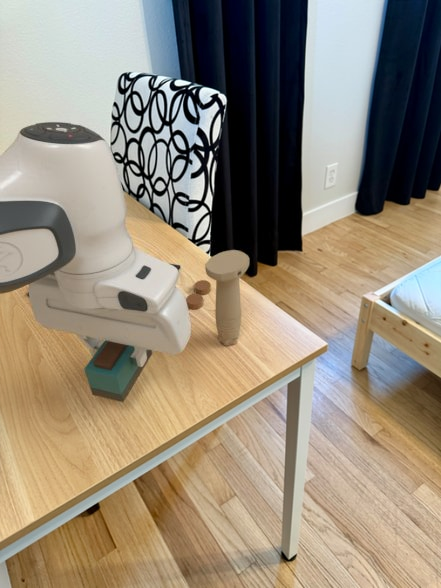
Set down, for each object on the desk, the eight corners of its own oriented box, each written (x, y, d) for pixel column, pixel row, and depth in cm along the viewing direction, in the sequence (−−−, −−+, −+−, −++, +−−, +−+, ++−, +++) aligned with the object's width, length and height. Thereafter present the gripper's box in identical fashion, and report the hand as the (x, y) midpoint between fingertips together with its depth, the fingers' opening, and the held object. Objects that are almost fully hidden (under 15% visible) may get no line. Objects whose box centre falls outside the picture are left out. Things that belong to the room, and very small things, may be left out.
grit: (192, 294, 78) (192, 288, 78) (197, 284, 81) (196, 279, 80) (208, 296, 78) (208, 290, 77) (212, 286, 80) (212, 281, 79)
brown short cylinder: (183, 307, 75) (183, 302, 75) (190, 297, 78) (189, 292, 77) (199, 310, 74) (199, 305, 74) (205, 300, 77) (205, 295, 76)
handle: (253, 337, 69) (256, 259, 60) (224, 357, 66) (222, 278, 56) (233, 323, 72) (232, 246, 62) (203, 341, 68) (198, 263, 59)
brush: (92, 394, 56) (82, 364, 52) (124, 347, 63) (117, 317, 59) (123, 402, 55) (114, 372, 51) (152, 353, 62) (146, 323, 58)
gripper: (2, 275, 48) (38, 359, 57) (169, 305, 43) (181, 393, 52) (37, 246, 53) (65, 328, 62) (191, 270, 48) (199, 356, 57)
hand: (119, 358), depth 57 cm, fingers closed on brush, 4 cm apart
